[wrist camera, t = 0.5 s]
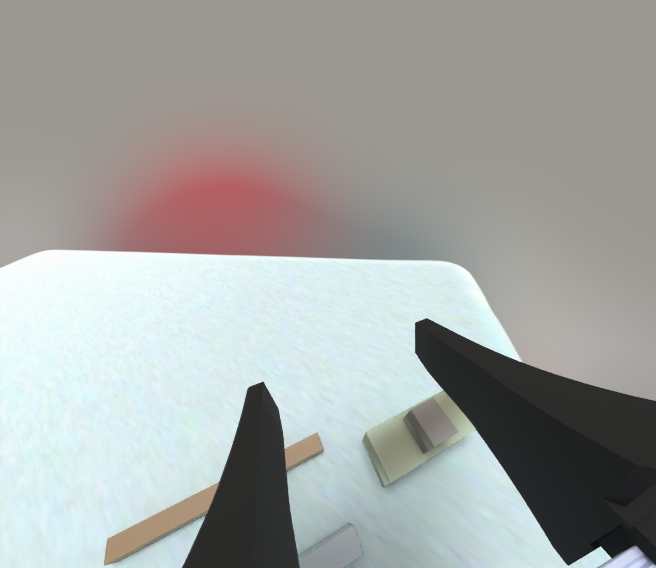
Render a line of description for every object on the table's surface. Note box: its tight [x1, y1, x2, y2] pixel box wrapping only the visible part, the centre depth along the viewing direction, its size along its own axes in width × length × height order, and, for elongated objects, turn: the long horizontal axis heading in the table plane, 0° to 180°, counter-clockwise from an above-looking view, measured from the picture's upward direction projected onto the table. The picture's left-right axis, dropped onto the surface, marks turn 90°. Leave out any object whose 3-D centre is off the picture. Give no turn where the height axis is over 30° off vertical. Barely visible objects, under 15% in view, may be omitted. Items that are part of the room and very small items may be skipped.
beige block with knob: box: [362, 390, 476, 487], centre depth 23 cm, size 4×10×7 cm, turn 114°
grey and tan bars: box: [104, 433, 364, 568], centre depth 18 cm, size 9×18×5 cm, turn 114°
